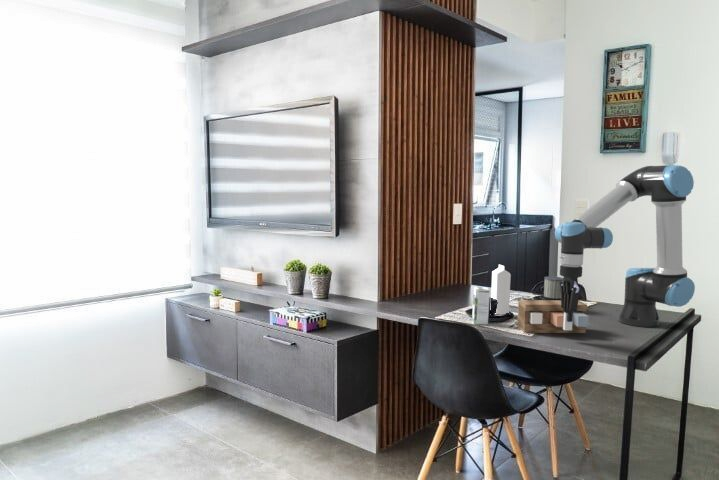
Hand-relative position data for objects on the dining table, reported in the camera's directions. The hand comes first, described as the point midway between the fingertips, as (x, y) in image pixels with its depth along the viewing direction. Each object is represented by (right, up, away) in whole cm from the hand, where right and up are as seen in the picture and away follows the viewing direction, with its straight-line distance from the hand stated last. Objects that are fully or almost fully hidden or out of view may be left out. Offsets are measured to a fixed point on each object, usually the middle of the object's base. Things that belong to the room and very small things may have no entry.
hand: (567, 329), depth 201 cm
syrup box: (-26, -2, +25) cm, 36 cm away
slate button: (+8, +1, +10) cm, 12 cm away
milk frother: (+9, +1, +53) cm, 53 cm away
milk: (-15, 0, +39) cm, 41 cm away
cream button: (-9, +1, +13) cm, 16 cm away
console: (-1, -3, +15) cm, 16 cm away
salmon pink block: (0, +1, +9) cm, 9 cm away
